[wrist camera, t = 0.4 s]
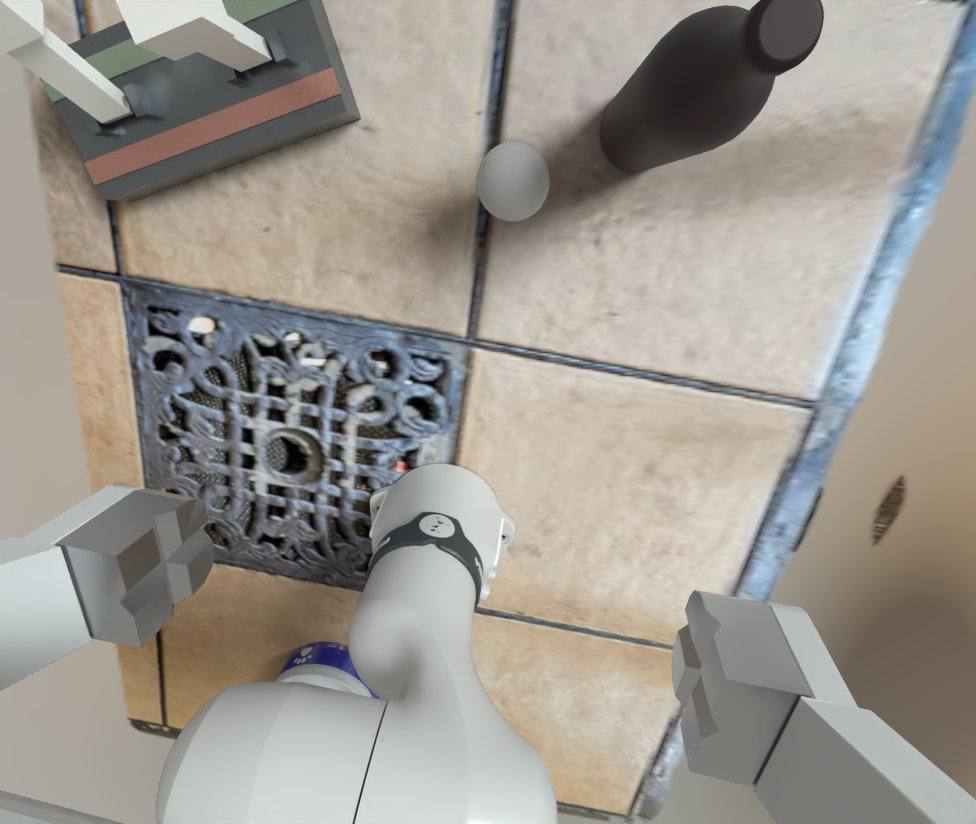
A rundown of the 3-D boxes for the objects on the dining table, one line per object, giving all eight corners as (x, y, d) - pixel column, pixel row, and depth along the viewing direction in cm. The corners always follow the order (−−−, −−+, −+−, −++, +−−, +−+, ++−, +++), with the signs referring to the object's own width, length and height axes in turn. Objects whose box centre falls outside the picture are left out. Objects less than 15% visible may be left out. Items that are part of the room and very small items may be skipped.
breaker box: (360, 118, 49) (341, 108, 44) (133, 200, 53) (92, 200, 48) (311, -32, 45) (283, -61, 40) (69, 71, 49) (17, 56, 44)
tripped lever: (289, 66, 44) (201, 16, 32) (238, 86, 45) (135, 44, 33) (274, 26, 43) (178, -41, 31) (223, 47, 44) (111, -10, 32)
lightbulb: (535, 227, 51) (536, 232, 41) (477, 208, 51) (464, 209, 41) (555, 162, 49) (562, 151, 39) (494, 142, 49) (485, 125, 38)
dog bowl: (336, 624, 74) (321, 659, 68) (403, 690, 78) (393, 727, 72) (265, 665, 78) (244, 700, 73) (331, 725, 82) (317, 763, 77)
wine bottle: (689, 141, 47) (914, 53, 20) (621, 187, 49) (739, 165, 22) (654, 68, 45) (850, -145, 18) (585, 118, 47) (664, -3, 20)
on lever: (146, 120, 45) (-21, -18, 33) (100, 138, 46) (-80, 11, 34) (144, 92, 46) (-21, -53, 34) (98, 111, 47) (-79, -25, 35)
